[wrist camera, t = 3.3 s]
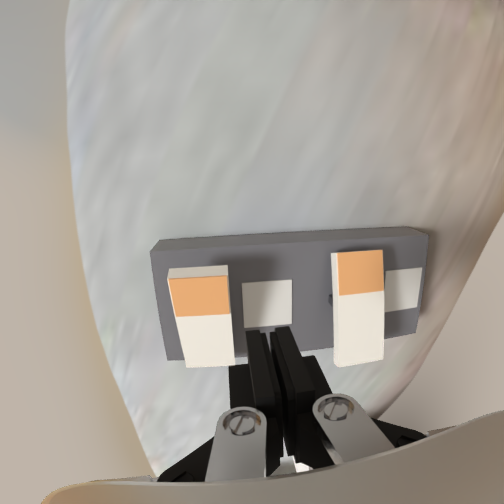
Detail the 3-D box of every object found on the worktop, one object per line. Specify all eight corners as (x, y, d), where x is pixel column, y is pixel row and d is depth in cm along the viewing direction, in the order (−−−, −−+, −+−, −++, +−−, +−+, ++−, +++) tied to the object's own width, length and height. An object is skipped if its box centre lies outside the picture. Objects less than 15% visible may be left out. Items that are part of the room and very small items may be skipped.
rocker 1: (169, 268, 22) (166, 279, 20) (227, 265, 22) (228, 276, 21) (187, 357, 26) (186, 368, 25) (234, 354, 26) (235, 366, 25)
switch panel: (159, 240, 28) (145, 257, 23) (407, 226, 30) (438, 238, 25) (173, 338, 31) (165, 370, 25) (397, 316, 32) (422, 339, 27)
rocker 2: (330, 252, 25) (336, 252, 23) (376, 249, 25) (383, 249, 24) (333, 362, 25) (338, 368, 23) (377, 355, 25) (383, 359, 24)
